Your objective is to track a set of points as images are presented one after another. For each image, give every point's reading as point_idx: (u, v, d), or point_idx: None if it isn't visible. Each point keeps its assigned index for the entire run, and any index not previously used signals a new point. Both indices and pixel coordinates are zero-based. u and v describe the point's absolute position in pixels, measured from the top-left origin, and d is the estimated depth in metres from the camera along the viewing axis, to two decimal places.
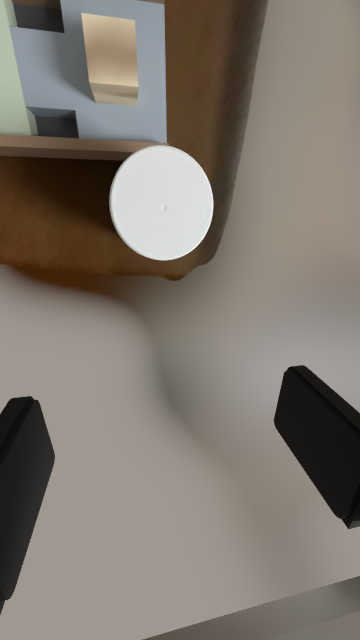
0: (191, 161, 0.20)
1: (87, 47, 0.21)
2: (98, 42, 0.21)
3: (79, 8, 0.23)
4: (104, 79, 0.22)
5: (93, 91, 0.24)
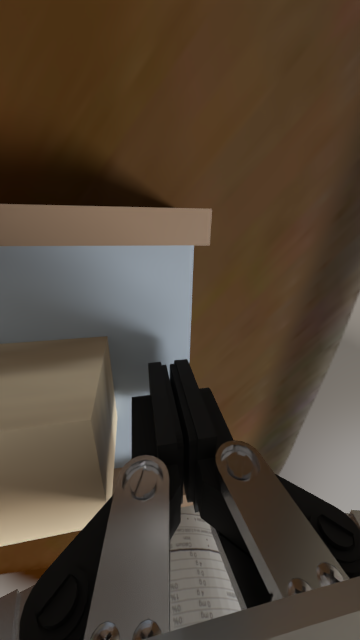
0: None
1: None
2: None
3: None
4: (1, 539, 0.07)
5: None
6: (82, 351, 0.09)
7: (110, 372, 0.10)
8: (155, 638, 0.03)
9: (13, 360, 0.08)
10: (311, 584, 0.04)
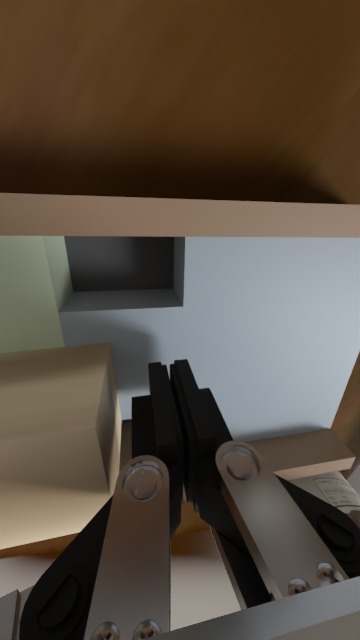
0: None
1: None
2: None
3: (225, 261, 0.10)
4: (14, 540, 0.07)
5: None
6: (85, 358, 0.09)
7: (113, 377, 0.11)
8: (155, 638, 0.03)
9: (20, 369, 0.09)
10: (311, 584, 0.04)
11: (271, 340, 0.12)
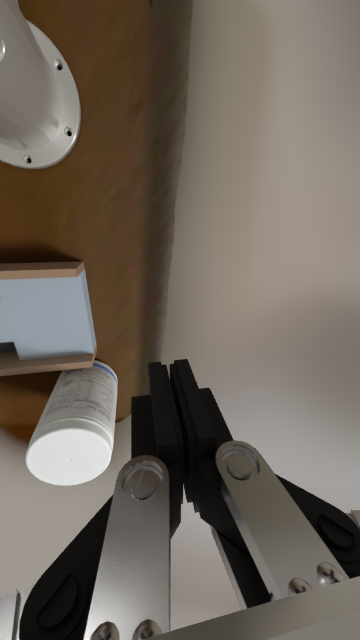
0: (87, 433, 0.27)
1: None
2: None
3: (11, 284, 0.30)
4: None
5: None
6: None
7: None
8: (155, 638, 0.03)
9: None
10: (311, 584, 0.04)
11: (42, 312, 0.32)
